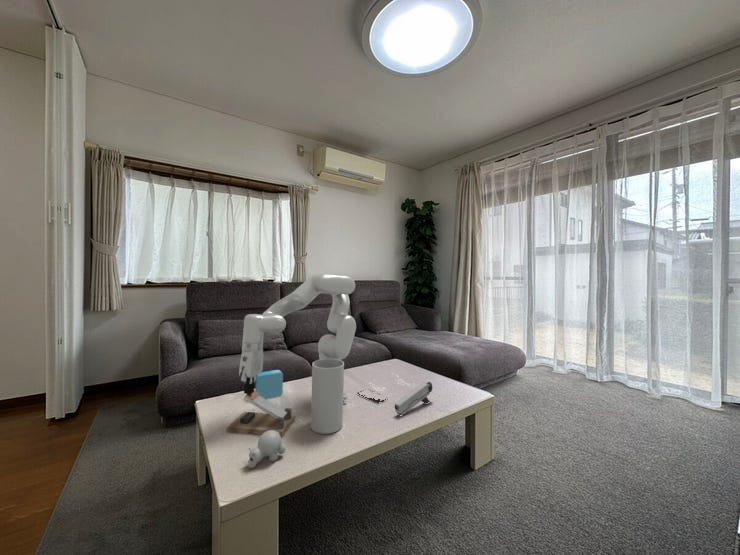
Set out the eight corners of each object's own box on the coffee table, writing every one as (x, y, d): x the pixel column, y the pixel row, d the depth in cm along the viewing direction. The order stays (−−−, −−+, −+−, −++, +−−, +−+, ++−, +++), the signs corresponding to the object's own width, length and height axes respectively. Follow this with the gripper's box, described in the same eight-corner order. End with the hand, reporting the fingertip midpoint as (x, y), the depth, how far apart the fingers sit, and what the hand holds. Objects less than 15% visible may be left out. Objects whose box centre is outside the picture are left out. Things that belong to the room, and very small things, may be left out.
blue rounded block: (280, 392, 141) (280, 369, 141) (282, 396, 137) (283, 371, 137) (255, 397, 135) (255, 372, 135) (256, 401, 131) (257, 375, 131)
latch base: (294, 420, 114) (295, 406, 114) (282, 437, 102) (282, 421, 102) (244, 416, 116) (244, 402, 116) (226, 432, 104) (226, 416, 104)
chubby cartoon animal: (246, 469, 88) (236, 448, 86) (279, 441, 96) (270, 421, 94) (255, 481, 83) (245, 459, 81) (289, 450, 91) (281, 430, 89)
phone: (367, 389, 147) (388, 398, 136) (367, 391, 147) (388, 400, 136) (356, 393, 141) (377, 402, 131) (356, 395, 141) (377, 405, 131)
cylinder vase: (314, 417, 117) (316, 358, 117) (344, 418, 117) (345, 359, 117) (307, 434, 104) (308, 367, 105) (340, 435, 104) (341, 369, 104)
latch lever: (286, 414, 111) (288, 410, 111) (280, 421, 106) (283, 416, 106) (250, 393, 113) (252, 389, 112) (243, 398, 107) (245, 394, 107)
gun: (435, 399, 135) (432, 380, 134) (400, 427, 119) (397, 406, 118) (430, 397, 137) (428, 378, 136) (396, 425, 121) (393, 404, 120)
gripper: (251, 350, 102) (247, 401, 101) (270, 343, 117) (267, 387, 116) (232, 349, 103) (228, 399, 102) (253, 341, 117) (250, 385, 117)
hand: (248, 392), depth 109 cm, fingers closed
